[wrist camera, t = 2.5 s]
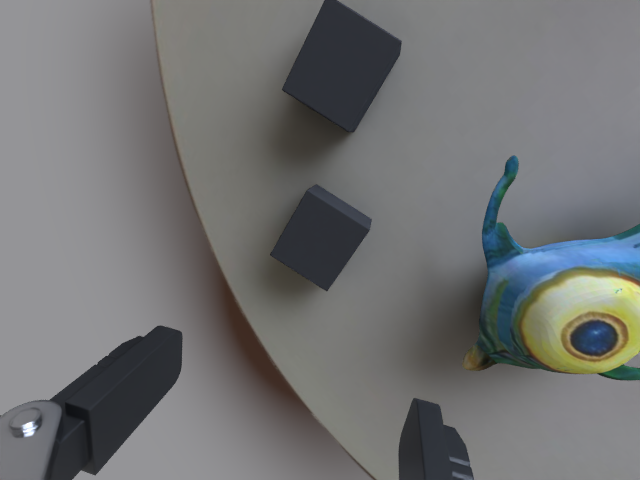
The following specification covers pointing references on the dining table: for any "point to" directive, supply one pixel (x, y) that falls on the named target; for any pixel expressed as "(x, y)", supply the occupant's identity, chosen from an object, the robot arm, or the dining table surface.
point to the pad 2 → (321, 237)
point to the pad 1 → (342, 65)
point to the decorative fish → (558, 301)
